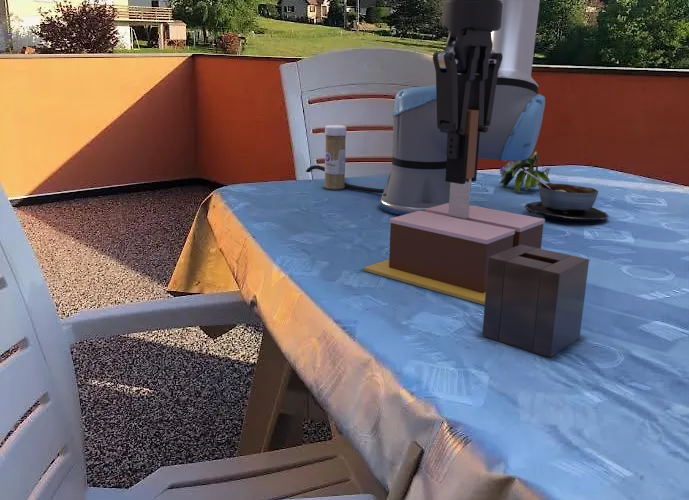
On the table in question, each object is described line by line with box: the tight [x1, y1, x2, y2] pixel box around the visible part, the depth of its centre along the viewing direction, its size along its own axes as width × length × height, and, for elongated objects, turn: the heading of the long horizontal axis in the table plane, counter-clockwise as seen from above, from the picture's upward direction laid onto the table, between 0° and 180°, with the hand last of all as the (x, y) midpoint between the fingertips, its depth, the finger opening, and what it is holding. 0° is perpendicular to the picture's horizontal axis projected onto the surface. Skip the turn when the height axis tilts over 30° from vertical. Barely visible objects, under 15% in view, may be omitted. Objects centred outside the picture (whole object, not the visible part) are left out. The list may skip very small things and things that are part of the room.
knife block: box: [481, 245, 590, 359], centre depth 76 cm, size 8×7×9 cm
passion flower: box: [499, 144, 551, 195], centre depth 156 cm, size 11×11×12 cm
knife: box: [448, 109, 479, 220], centre depth 97 cm, size 3×2×21 cm, turn 48°
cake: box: [363, 203, 546, 306], centre depth 98 cm, size 20×20×8 cm
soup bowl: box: [524, 171, 609, 222], centre depth 131 cm, size 15×16×7 cm
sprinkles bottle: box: [323, 124, 347, 191], centre depth 152 cm, size 5×5×14 cm
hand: (460, 180), depth 96 cm, fingers closed on knife, 2 cm apart
